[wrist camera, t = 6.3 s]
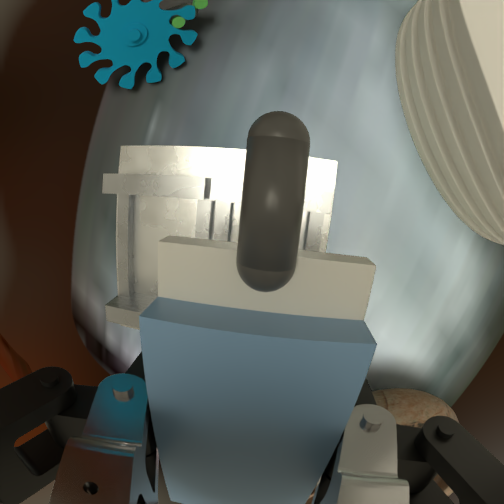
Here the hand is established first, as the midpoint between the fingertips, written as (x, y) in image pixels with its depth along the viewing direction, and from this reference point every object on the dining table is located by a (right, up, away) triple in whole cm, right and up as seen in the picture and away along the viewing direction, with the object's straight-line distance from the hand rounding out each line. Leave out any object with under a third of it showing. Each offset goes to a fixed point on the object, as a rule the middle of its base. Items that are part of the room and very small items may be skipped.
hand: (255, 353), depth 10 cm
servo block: (0, +1, 0) cm, 1 cm away
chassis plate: (-3, +4, +14) cm, 14 cm away
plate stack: (+26, +18, +8) cm, 33 cm away
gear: (-8, +22, +10) cm, 25 cm away
